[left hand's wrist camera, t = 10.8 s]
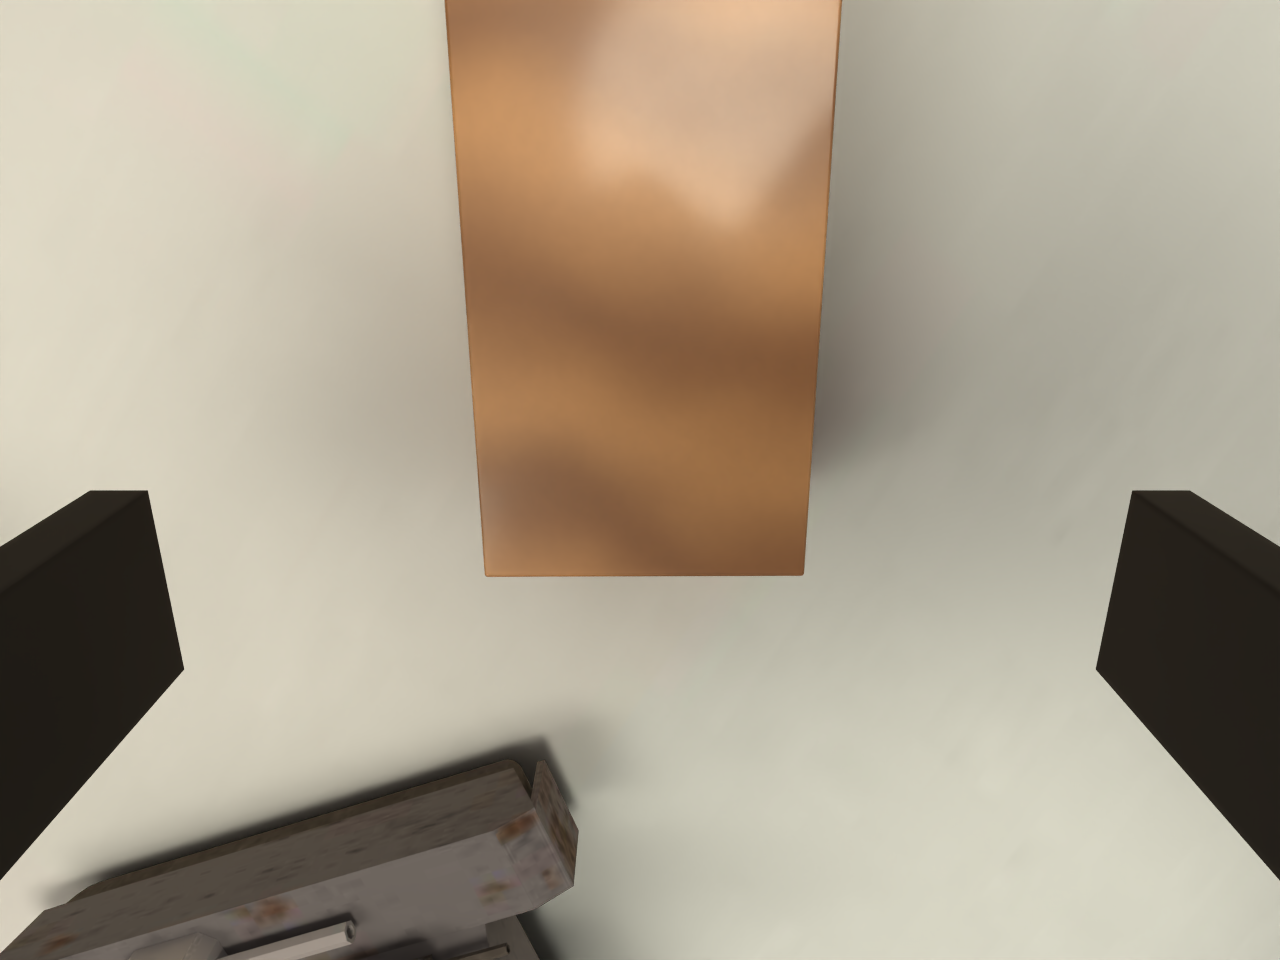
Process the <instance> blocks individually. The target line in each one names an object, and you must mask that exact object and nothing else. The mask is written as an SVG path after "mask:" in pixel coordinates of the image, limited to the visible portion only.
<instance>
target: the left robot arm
mask: <svg viewBox="0 0 1280 960" xmlns="http://www.w3.org/2000/svg"><path fill="white" fill-rule="evenodd" d="M183 670H184V666H183V661H182V656H181V651H180V646H179V642H178V637H177V632H176V627H175V622H174V617H173V612H172V607H171V602H170V598H169V593H168V588H167V583H166V578H165V573H164V568H163V563H162V558H161V553H160V549H159V544H158V539H157V534H156V529H155V524H154V519H153V514H152V509H151V505H150V500H149V495H148V491H89V492H87V493H86V494H84V495H82V496H81V497H79V498H78V499H76V500H74V501H73V502H71V503H70V504H68V505H66V506H65V507H63V508H62V509H60V510H58V511H57V512H55V513H54V514H52V515H50V516H49V517H47V518H46V519H44V520H42V521H41V522H39V523H38V524H36V525H34V526H33V527H31V528H30V529H28V530H26V531H25V532H23V533H22V534H20V535H18V536H17V537H15V538H14V539H12V540H10V541H9V542H7V543H6V544H4V545H2V546H1V547H0V880H1V879H2V878H3V877H4V875H5V874H6V873H7V872H8V871H9V870H10V868H11V867H12V866H13V865H14V864H15V863H16V862H17V860H18V859H19V858H20V857H21V856H22V855H23V854H24V852H25V851H26V850H27V849H28V848H29V847H30V846H31V844H32V843H33V842H34V841H35V840H36V839H37V838H38V836H39V835H40V834H41V833H42V832H43V831H44V830H45V828H46V827H47V826H48V825H49V824H50V823H51V821H52V820H53V819H54V818H55V817H56V816H57V815H58V813H59V812H60V811H61V810H62V809H63V808H64V807H65V805H66V804H67V803H68V802H69V801H70V800H71V799H72V797H73V796H74V795H75V794H76V793H77V792H78V791H79V789H80V788H81V787H82V786H83V785H84V784H85V782H86V781H87V780H88V779H89V778H90V777H91V776H92V774H93V773H94V772H95V771H96V770H97V769H98V768H99V766H100V765H101V764H102V763H103V762H104V761H105V760H106V758H107V757H108V756H109V755H110V754H111V753H112V752H113V750H114V749H115V748H116V747H117V746H118V745H119V743H120V742H121V741H122V740H123V739H124V738H125V737H126V735H127V734H128V733H129V732H130V731H131V730H132V729H133V727H134V726H135V725H136V724H137V723H138V722H139V721H140V719H141V718H142V717H143V716H144V715H145V714H146V713H147V711H148V710H149V709H150V708H151V707H152V706H153V704H154V703H155V702H156V701H157V700H158V699H159V698H160V696H161V695H162V694H163V693H164V692H165V691H166V690H167V688H168V687H169V686H170V685H171V684H172V683H173V682H174V680H175V679H176V678H177V677H178V676H179V675H180V674H181V672H182V671H183ZM1096 670H1097V671H1098V672H1099V674H1100V675H1101V676H1102V677H1103V678H1104V679H1105V680H1106V682H1107V683H1108V684H1109V685H1110V686H1111V687H1112V688H1113V690H1114V691H1115V692H1116V693H1117V694H1118V695H1119V696H1120V698H1121V699H1122V700H1123V701H1124V702H1125V703H1126V704H1127V706H1128V707H1129V708H1130V709H1131V710H1132V711H1133V713H1134V714H1135V715H1136V716H1137V717H1138V718H1139V719H1140V721H1141V722H1142V723H1143V724H1144V725H1145V726H1146V727H1147V729H1148V730H1149V731H1150V732H1151V733H1152V734H1153V735H1154V737H1155V738H1156V739H1157V740H1158V741H1159V742H1160V743H1161V745H1162V746H1163V747H1164V748H1165V749H1166V750H1167V752H1168V753H1169V754H1170V755H1171V756H1172V757H1173V758H1174V760H1175V761H1176V762H1177V763H1178V764H1179V765H1180V766H1181V768H1182V769H1183V770H1184V771H1185V772H1186V773H1187V774H1188V776H1189V777H1190V778H1191V779H1192V780H1193V781H1194V782H1195V784H1196V785H1197V786H1198V787H1199V788H1200V789H1201V791H1202V792H1203V793H1204V794H1205V795H1206V796H1207V797H1208V799H1209V800H1210V801H1211V802H1212V803H1213V804H1214V805H1215V807H1216V808H1217V809H1218V810H1219V811H1220V812H1221V813H1222V815H1223V816H1224V817H1225V818H1226V819H1227V820H1228V821H1229V823H1230V824H1231V825H1232V826H1233V827H1234V828H1235V830H1236V831H1237V832H1238V833H1239V834H1240V835H1241V836H1242V838H1243V839H1244V840H1245V841H1246V842H1247V843H1248V844H1249V846H1250V847H1251V848H1252V849H1253V850H1254V851H1255V852H1256V854H1257V855H1258V856H1259V857H1260V858H1261V859H1262V860H1263V862H1264V863H1265V864H1266V865H1267V866H1268V867H1269V868H1270V870H1271V871H1272V872H1273V873H1274V874H1275V875H1276V877H1277V878H1278V879H1279V880H1280V547H1279V546H1278V545H1276V544H1274V543H1273V542H1271V541H1270V540H1268V539H1266V538H1265V537H1263V536H1262V535H1260V534H1258V533H1257V532H1255V531H1254V530H1252V529H1250V528H1249V527H1247V526H1246V525H1244V524H1242V523H1241V522H1239V521H1238V520H1236V519H1234V518H1233V517H1231V516H1230V515H1228V514H1226V513H1225V512H1223V511H1222V510H1220V509H1218V508H1217V507H1215V506H1214V505H1212V504H1210V503H1209V502H1207V501H1206V500H1204V499H1202V498H1201V497H1199V496H1198V495H1196V494H1194V493H1193V492H1191V491H1132V495H1131V500H1130V505H1129V509H1128V514H1127V519H1126V524H1125V529H1124V534H1123V539H1122V544H1121V549H1120V553H1119V558H1118V563H1117V568H1116V573H1115V578H1114V583H1113V588H1112V593H1111V598H1110V602H1109V607H1108V612H1107V617H1106V622H1105V627H1104V632H1103V637H1102V642H1101V646H1100V651H1099V656H1098V661H1097V666H1096Z"/></svg>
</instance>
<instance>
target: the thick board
mask: <svg viewBox="0 0 1280 960" xmlns="http://www.w3.org/2000/svg"><path fill="white" fill-rule="evenodd" d="M841 9H842V0H445V13H446V28H447V42H448V56H449V70H450V85H451V99H452V113H453V127H454V142H455V156H456V170H457V184H458V199H459V213H460V227H461V242H462V256H463V270H464V284H465V299H466V313H467V327H468V341H469V356H470V370H471V384H472V398H473V413H474V427H475V441H476V455H477V470H478V484H479V498H480V512H481V527H482V541H483V555H484V569H485V575H486V576H487V577H530V576H802V575H803V574H804V565H805V550H806V535H807V520H808V505H809V490H810V475H811V460H812V445H813V430H814V415H815V400H816V385H817V370H818V354H819V339H820V324H821V309H822V294H823V279H824V264H825V249H826V234H827V219H828V204H829V189H830V174H831V159H832V144H833V129H834V114H835V99H836V84H837V69H838V54H839V39H840V24H841Z"/></svg>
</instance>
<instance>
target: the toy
mask: <svg viewBox="0 0 1280 960" xmlns="http://www.w3.org/2000/svg"><path fill="white" fill-rule="evenodd" d="M578 831H579V830H578V828H577V826H576V824H575V822H574V820H573V818H572V816H571V814H570V812H569V810H568V807H567V805H566V803H565V801H564V799H563V797H562V795H561V793H560V791H559V789H558V787H557V785H556V782H555V780H554V778H553V776H552V774H551V772H550V770H549V768H548V766H547V764H546V762H545V760H542V761H539V762H537V765H536V771H535V777H534V783H533V789H532V788H531V786H530V784H529V782H528V779H527V777H526V775H525V773H524V771H523V769H522V767H521V766H520V765H519V764H518V763H517V762H516V761H513V760H509V759H506V760H502V761H499V762H496V763H492V764H489V765H486V766H482V767H479V768H476V769H472V770H469V771H466V772H463V773H459V774H456V775H453V776H449V777H446V778H443V779H439V780H436V781H433V782H429V783H426V784H423V785H419V786H416V787H413V788H410V789H406V790H403V791H400V792H396V793H393V794H390V795H386V796H383V797H380V798H376V799H373V800H370V801H366V802H363V803H360V804H356V805H353V806H350V807H347V808H343V809H340V810H337V811H333V812H330V813H327V814H323V815H320V816H317V817H313V818H310V819H307V820H303V821H300V822H297V823H293V824H290V825H287V826H284V827H280V828H277V829H274V830H270V831H267V832H264V833H260V834H257V835H254V836H250V837H247V838H244V839H240V840H237V841H234V842H230V843H227V844H224V845H221V846H217V847H214V848H211V849H207V850H204V851H201V852H197V853H194V854H191V855H187V856H184V857H181V858H177V859H174V860H171V861H167V862H164V863H161V864H158V865H154V866H151V867H148V868H144V869H141V870H138V871H134V872H131V873H128V874H124V875H121V876H118V877H114V878H111V879H108V880H105V881H101V882H98V883H96V884H94V885H92V886H89V887H88V888H86V889H85V890H83V891H82V892H80V893H79V894H77V895H76V896H75V897H73V898H72V899H71V900H70V901H69V902H67V903H66V904H63V905H60V906H57V907H54V908H51V909H47V910H44V911H43V912H42V913H41V914H40V915H39V916H38V917H37V918H36V919H35V920H34V921H33V922H32V923H31V924H30V925H29V926H28V927H27V928H26V929H25V930H24V931H23V932H22V933H21V934H20V935H19V936H18V937H17V938H16V939H15V940H14V941H13V942H12V943H10V944H9V945H8V946H7V947H6V948H5V949H4V950H3V951H2V952H1V953H0V960H539V958H538V956H537V954H536V952H535V950H534V948H533V946H532V945H531V943H530V941H529V939H528V937H527V935H526V933H525V931H524V930H523V928H522V926H521V924H520V922H519V920H518V918H517V916H516V915H517V914H521V913H524V912H527V911H531V910H534V909H536V908H538V907H540V906H541V905H543V904H545V903H546V902H548V901H550V900H551V899H553V898H554V897H556V896H558V895H559V894H561V893H563V892H564V891H566V890H568V889H569V888H571V887H573V886H574V875H575V864H576V853H577V842H578Z"/></svg>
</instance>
